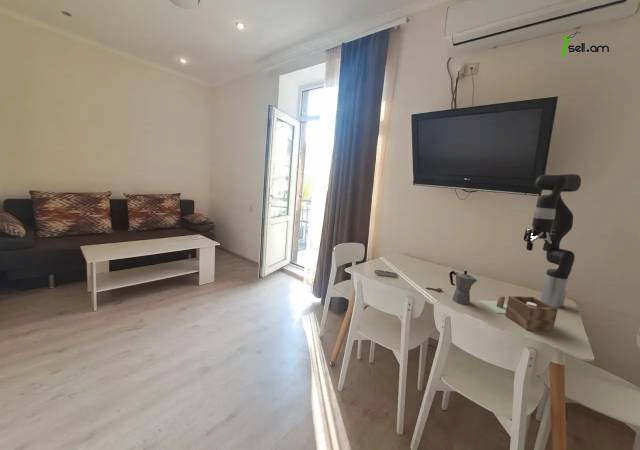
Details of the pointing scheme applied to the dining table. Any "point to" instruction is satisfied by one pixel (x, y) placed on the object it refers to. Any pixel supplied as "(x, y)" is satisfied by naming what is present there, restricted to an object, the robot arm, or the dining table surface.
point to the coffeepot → (462, 287)
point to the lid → (496, 305)
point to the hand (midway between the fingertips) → (537, 250)
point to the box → (531, 313)
